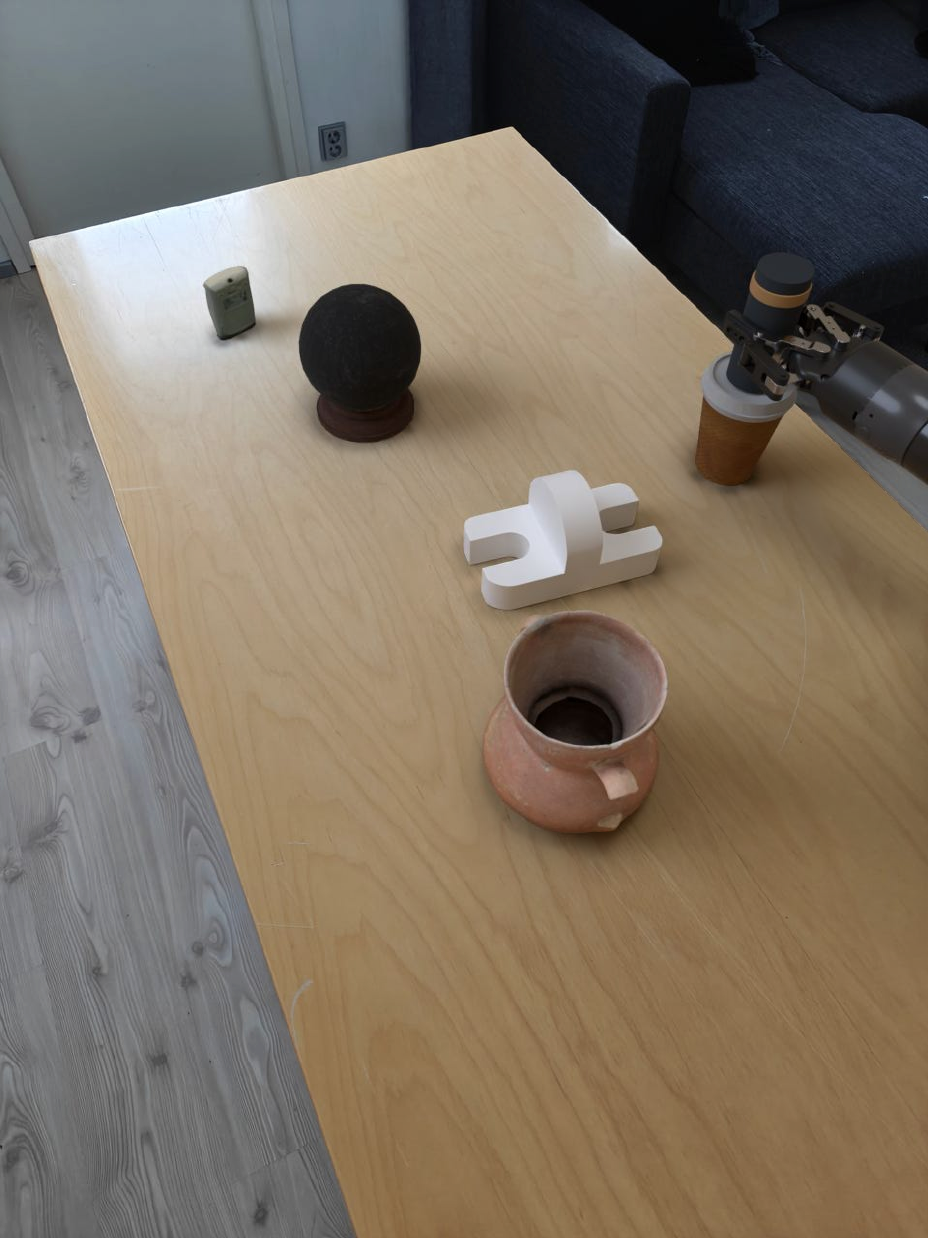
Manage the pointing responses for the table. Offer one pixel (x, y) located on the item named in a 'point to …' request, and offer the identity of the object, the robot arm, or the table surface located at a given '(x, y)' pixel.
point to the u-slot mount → (560, 542)
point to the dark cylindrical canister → (773, 305)
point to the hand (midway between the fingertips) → (749, 308)
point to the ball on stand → (361, 361)
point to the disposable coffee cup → (734, 425)
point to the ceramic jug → (576, 722)
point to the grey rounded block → (230, 301)
